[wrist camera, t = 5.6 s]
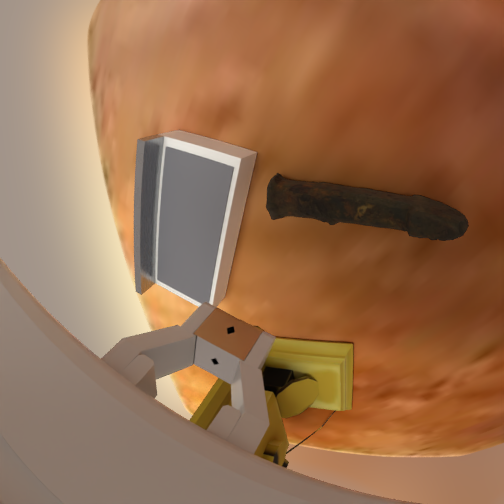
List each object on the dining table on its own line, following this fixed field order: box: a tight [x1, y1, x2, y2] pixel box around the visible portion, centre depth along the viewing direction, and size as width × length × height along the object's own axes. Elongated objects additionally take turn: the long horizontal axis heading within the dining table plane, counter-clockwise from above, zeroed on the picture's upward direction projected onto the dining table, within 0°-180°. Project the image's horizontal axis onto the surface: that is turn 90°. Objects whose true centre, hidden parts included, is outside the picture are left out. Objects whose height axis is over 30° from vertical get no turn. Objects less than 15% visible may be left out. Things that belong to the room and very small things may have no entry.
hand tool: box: [266, 173, 469, 241], centre depth 24 cm, size 19×4×5 cm, turn 91°
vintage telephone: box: [189, 326, 353, 468], centre depth 29 cm, size 31×14×30 cm, turn 13°
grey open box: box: [134, 130, 257, 307], centre depth 33 cm, size 10×20×7 cm, turn 167°
